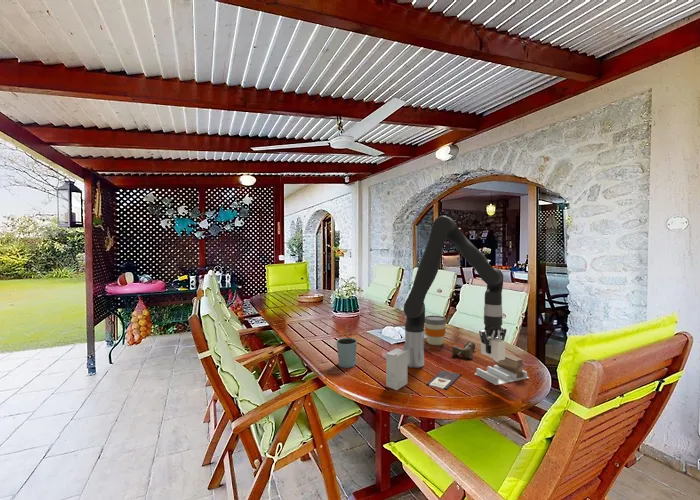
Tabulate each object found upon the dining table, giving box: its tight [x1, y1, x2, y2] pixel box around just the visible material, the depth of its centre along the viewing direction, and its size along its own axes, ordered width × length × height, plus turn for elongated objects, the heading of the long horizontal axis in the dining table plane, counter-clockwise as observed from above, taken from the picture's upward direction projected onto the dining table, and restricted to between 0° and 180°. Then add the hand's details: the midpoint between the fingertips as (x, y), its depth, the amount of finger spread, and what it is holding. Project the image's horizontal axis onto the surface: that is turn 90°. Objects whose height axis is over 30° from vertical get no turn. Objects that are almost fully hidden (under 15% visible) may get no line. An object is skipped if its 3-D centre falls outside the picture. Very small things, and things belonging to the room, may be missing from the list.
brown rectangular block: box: [497, 352, 523, 379], centre depth 158 cm, size 4×10×8 cm, turn 22°
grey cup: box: [336, 337, 358, 369], centre depth 173 cm, size 10×10×12 cm
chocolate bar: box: [426, 369, 462, 391], centre depth 154 cm, size 9×1×18 cm
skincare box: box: [385, 347, 408, 391], centre depth 149 cm, size 8×6×15 cm
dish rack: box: [474, 364, 530, 386], centre depth 156 cm, size 19×13×4 cm
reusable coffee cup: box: [424, 315, 447, 346], centre depth 207 cm, size 12×13×15 cm
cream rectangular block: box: [480, 337, 506, 361], centre depth 154 cm, size 4×10×8 cm, turn 22°
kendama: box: [451, 341, 476, 360], centre depth 186 cm, size 6×10×20 cm
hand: (492, 352), depth 154 cm, fingers closed on cream rectangular block, 4 cm apart
